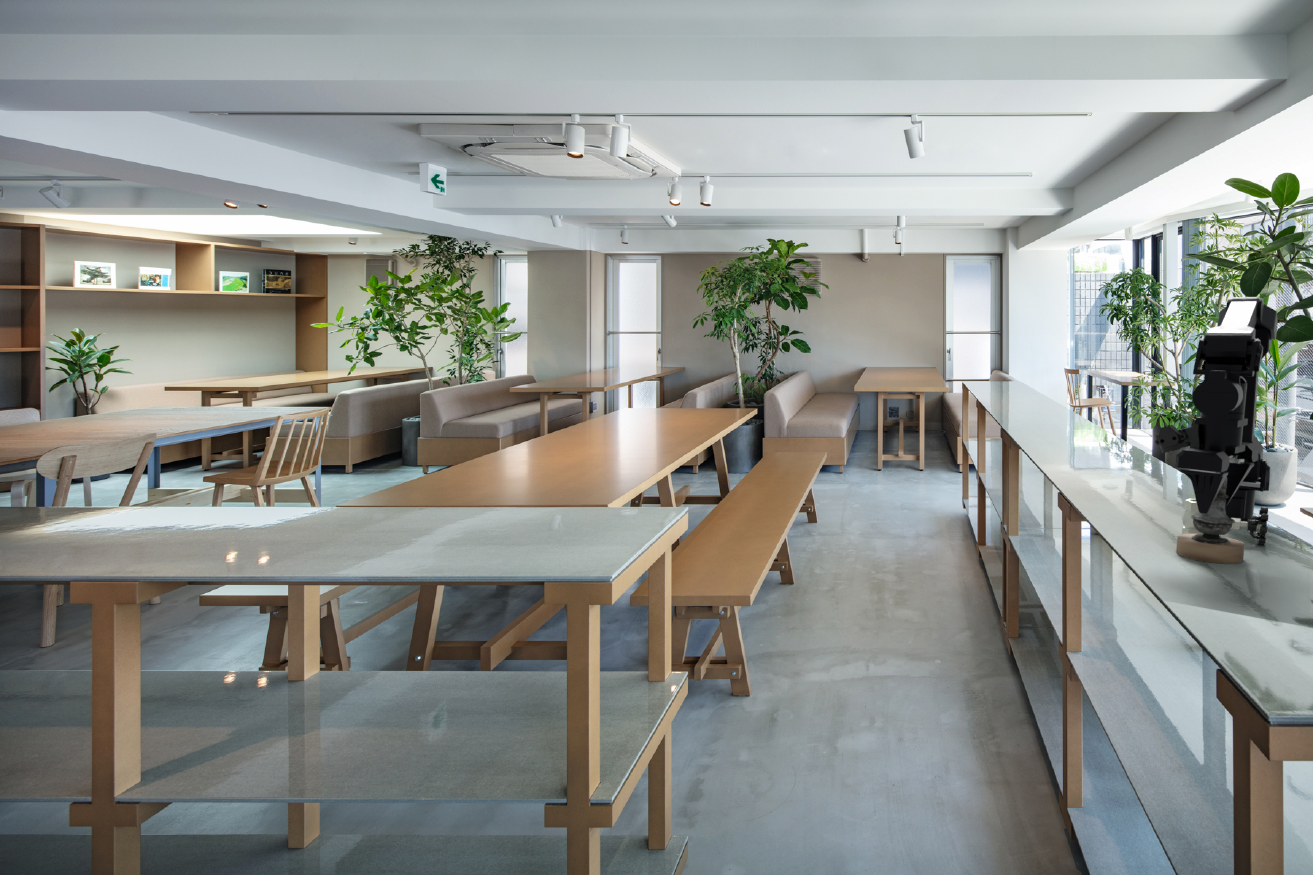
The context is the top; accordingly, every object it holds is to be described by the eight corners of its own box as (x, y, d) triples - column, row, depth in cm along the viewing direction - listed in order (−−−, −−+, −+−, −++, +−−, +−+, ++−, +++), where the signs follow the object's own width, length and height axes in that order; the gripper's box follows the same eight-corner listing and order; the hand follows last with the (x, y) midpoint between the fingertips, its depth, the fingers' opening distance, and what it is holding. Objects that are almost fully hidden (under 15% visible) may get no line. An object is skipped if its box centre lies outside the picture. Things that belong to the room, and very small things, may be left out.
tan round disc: (1181, 545, 141) (1182, 530, 140) (1246, 554, 135) (1247, 539, 135) (1171, 556, 134) (1172, 541, 134) (1239, 566, 128) (1241, 551, 128)
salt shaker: (1181, 538, 135) (1188, 465, 134) (1200, 534, 138) (1206, 462, 137) (1221, 546, 130) (1229, 470, 129) (1239, 541, 133) (1247, 467, 132)
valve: (1180, 540, 145) (1265, 550, 138) (1183, 502, 144) (1269, 511, 137) (1180, 532, 150) (1263, 541, 144) (1184, 496, 149) (1266, 504, 143)
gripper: (1186, 404, 143) (1178, 494, 145) (1143, 411, 132) (1135, 508, 134) (1263, 409, 135) (1254, 504, 137) (1225, 417, 123) (1215, 521, 125)
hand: (1213, 509), depth 133 cm, fingers open, 9 cm apart
